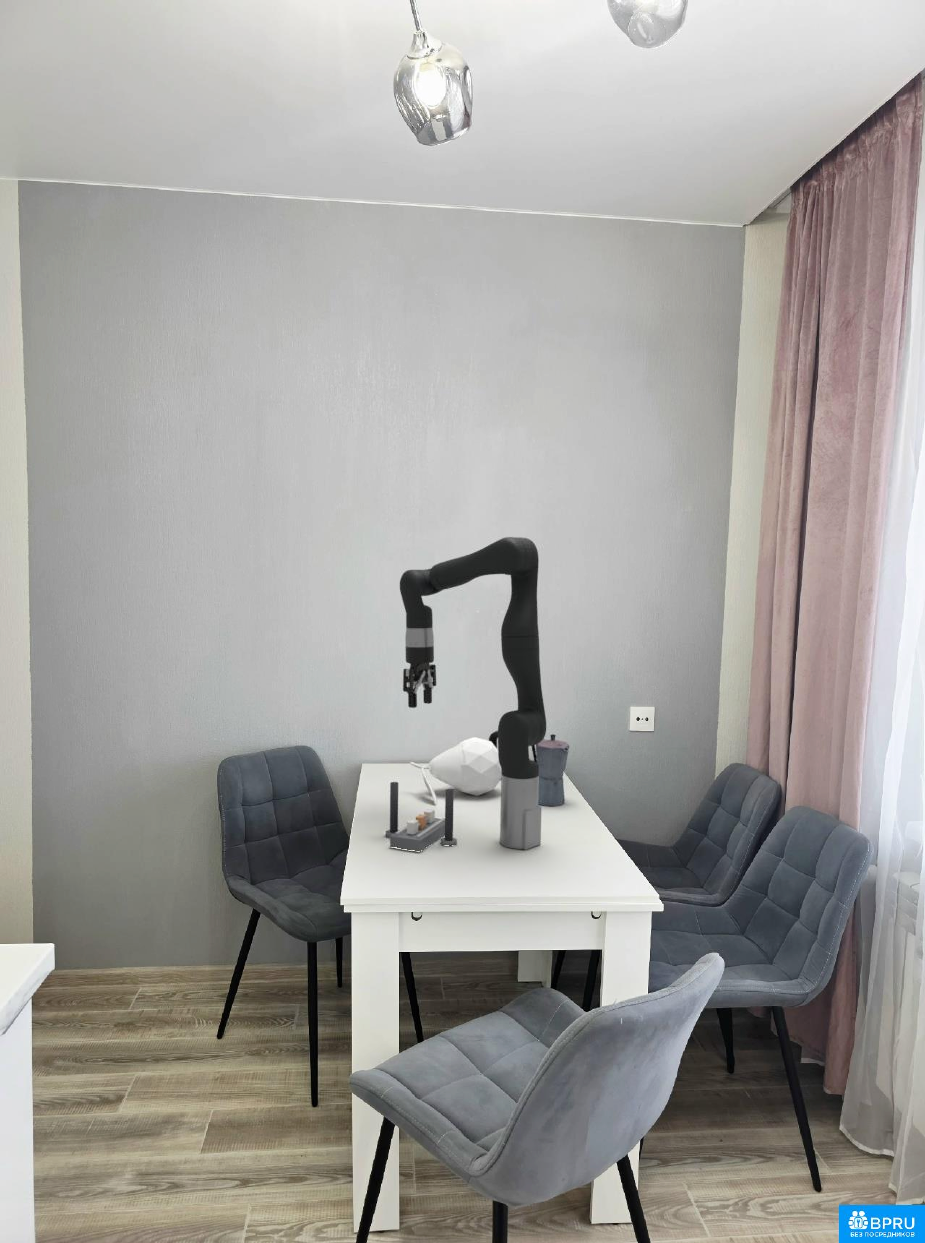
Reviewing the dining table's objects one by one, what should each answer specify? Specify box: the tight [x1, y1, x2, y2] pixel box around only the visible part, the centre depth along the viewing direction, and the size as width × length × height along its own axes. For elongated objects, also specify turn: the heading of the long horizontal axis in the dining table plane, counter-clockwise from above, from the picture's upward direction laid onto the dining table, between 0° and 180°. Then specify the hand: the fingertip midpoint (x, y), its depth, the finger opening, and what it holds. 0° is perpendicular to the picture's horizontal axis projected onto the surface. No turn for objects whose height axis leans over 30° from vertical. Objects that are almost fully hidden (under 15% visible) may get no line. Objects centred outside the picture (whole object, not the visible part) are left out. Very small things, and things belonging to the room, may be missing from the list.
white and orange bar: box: [406, 808, 436, 835], centre depth 224 cm, size 13×2×3 cm, turn 158°
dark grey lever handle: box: [385, 781, 400, 838], centre depth 227 cm, size 4×4×14 cm
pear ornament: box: [409, 736, 501, 806], centre depth 265 cm, size 16×22×28 cm
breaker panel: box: [389, 817, 445, 853], centre depth 224 cm, size 18×8×4 cm, turn 158°
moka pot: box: [531, 733, 570, 807], centre depth 259 cm, size 10×15×20 cm, turn 41°
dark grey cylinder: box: [440, 788, 458, 847], centre depth 221 cm, size 4×4×14 cm
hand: (420, 705), depth 241 cm, fingers open, 8 cm apart
